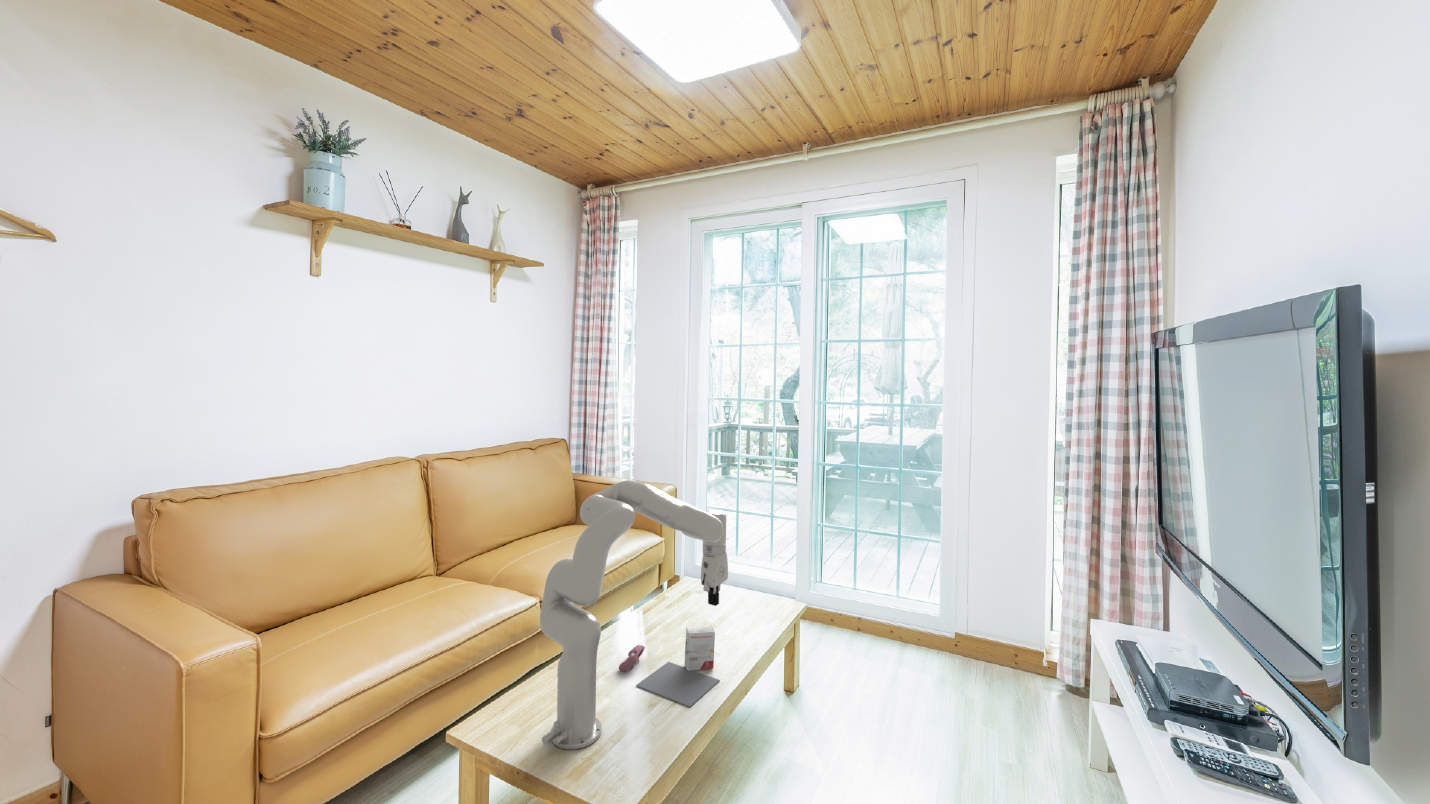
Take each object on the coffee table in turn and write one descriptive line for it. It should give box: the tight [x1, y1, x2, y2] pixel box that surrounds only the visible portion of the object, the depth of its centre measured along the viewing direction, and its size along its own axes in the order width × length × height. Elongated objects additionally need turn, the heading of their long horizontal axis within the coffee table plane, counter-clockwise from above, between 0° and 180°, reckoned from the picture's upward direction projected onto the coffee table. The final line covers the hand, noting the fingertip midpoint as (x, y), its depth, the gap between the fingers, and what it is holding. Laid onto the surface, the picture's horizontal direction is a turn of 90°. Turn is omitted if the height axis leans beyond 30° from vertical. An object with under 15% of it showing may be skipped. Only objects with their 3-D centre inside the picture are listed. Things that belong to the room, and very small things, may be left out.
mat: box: [635, 661, 720, 709], centre depth 164 cm, size 16×19×1 cm
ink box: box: [684, 625, 716, 671], centre depth 173 cm, size 9×5×12 cm, turn 103°
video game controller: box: [618, 644, 646, 672], centre depth 174 cm, size 10×5×7 cm, turn 169°
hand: (713, 604), depth 179 cm, fingers closed
